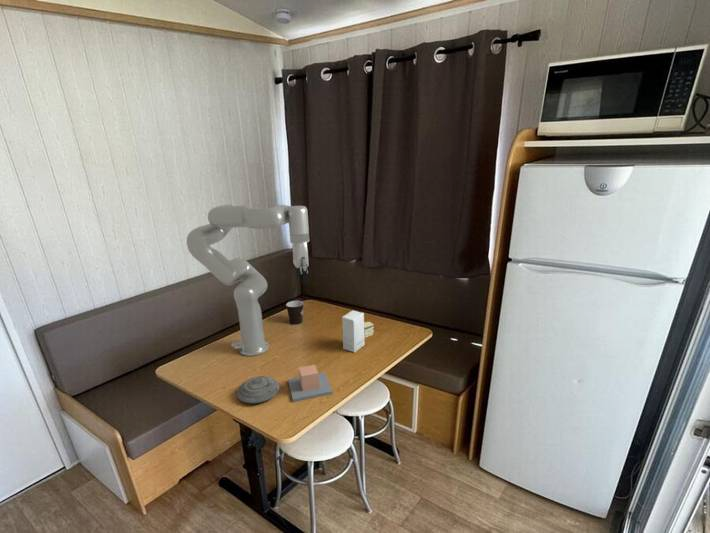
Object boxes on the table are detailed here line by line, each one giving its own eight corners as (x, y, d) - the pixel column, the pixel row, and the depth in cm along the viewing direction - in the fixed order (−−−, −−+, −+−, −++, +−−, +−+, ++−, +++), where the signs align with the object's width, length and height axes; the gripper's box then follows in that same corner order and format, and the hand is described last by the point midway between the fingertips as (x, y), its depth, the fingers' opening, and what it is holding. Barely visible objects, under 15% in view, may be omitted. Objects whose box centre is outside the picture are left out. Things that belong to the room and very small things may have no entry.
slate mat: (293, 402, 128) (292, 399, 128) (288, 381, 140) (288, 379, 140) (332, 393, 132) (332, 391, 132) (324, 374, 144) (324, 372, 144)
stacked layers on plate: (369, 329, 181) (369, 318, 180) (379, 336, 174) (379, 325, 172) (351, 334, 177) (351, 323, 175) (360, 341, 169) (360, 330, 168)
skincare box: (353, 341, 169) (352, 309, 165) (365, 345, 165) (365, 312, 161) (342, 349, 163) (341, 316, 158) (354, 353, 159) (353, 319, 154)
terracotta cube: (302, 391, 132) (301, 376, 131) (300, 382, 138) (298, 367, 136) (319, 387, 134) (318, 373, 132) (316, 378, 140) (315, 364, 138)
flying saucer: (254, 378, 144) (253, 365, 142) (288, 386, 138) (286, 373, 136) (227, 401, 130) (225, 387, 129) (263, 410, 125) (261, 396, 123)
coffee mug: (296, 326, 186) (295, 308, 183) (284, 323, 190) (282, 305, 188) (311, 318, 195) (310, 300, 192) (299, 315, 200) (298, 297, 197)
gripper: (287, 234, 153) (290, 274, 158) (293, 243, 137) (296, 287, 142) (305, 233, 155) (308, 272, 160) (313, 241, 139) (316, 284, 144)
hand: (302, 279), depth 151 cm, fingers open, 9 cm apart
